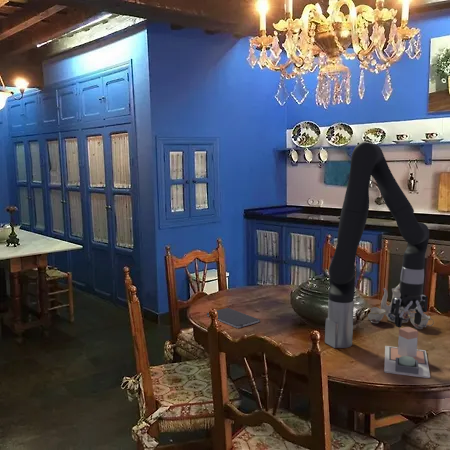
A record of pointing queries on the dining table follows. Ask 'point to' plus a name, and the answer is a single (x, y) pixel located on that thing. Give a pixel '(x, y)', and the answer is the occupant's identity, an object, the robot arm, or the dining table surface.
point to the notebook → (235, 318)
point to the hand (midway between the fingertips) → (407, 325)
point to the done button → (407, 361)
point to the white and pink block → (407, 342)
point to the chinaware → (378, 314)
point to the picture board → (394, 367)
